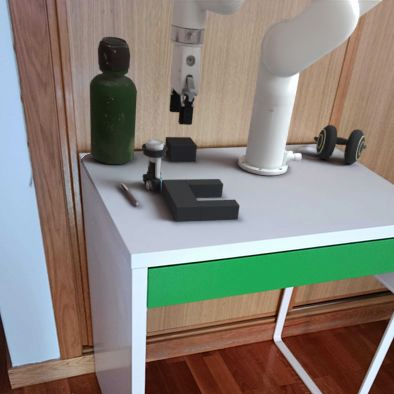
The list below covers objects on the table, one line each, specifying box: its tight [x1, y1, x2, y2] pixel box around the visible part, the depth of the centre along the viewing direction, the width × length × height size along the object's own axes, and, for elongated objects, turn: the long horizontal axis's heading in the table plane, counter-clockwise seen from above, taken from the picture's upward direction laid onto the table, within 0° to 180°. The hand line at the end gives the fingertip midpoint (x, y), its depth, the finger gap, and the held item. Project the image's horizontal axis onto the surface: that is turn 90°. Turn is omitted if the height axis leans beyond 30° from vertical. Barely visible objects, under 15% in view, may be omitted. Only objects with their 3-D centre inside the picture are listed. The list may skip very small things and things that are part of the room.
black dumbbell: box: [313, 124, 367, 165], centre depth 138 cm, size 9×15×20 cm
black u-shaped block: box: [160, 178, 241, 223], centre depth 104 cm, size 13×14×3 cm
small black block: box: [164, 136, 198, 163], centre depth 126 cm, size 6×6×4 cm
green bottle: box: [89, 36, 138, 165], centre depth 113 cm, size 10×10×25 cm
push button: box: [141, 138, 167, 194], centre depth 107 cm, size 7×5×10 cm
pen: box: [120, 182, 140, 207], centre depth 105 cm, size 11×1×1 cm, turn 25°
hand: (180, 117), depth 121 cm, fingers open, 9 cm apart
